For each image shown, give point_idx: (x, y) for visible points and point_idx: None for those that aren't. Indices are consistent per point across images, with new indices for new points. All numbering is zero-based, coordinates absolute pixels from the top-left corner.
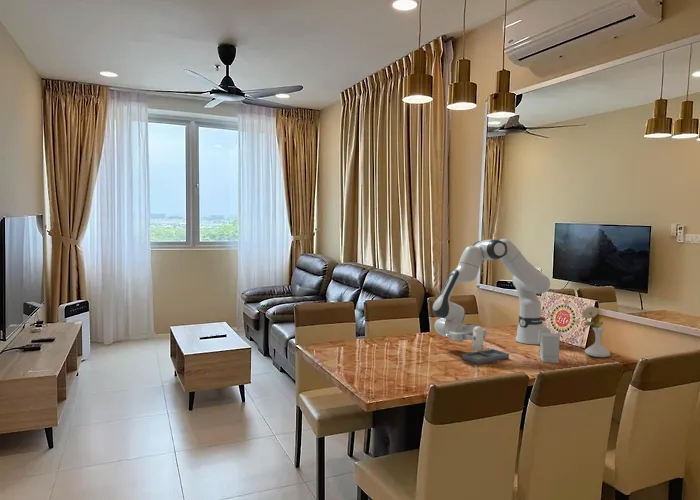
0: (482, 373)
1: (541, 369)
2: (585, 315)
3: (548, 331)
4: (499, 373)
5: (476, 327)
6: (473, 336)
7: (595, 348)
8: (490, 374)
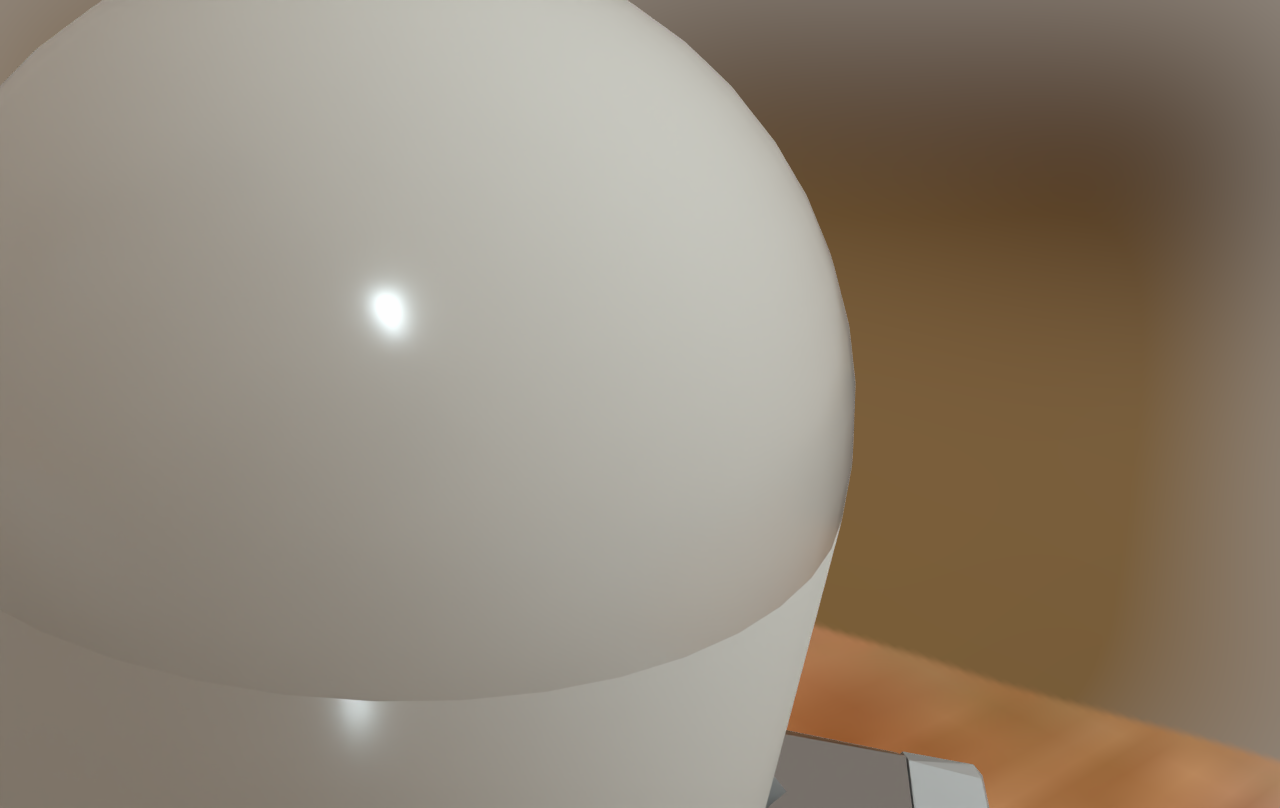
0: (1114, 799)
1: None
2: None
3: None
4: (825, 641)
5: (716, 74)
6: (926, 760)
7: None
8: (1005, 702)
